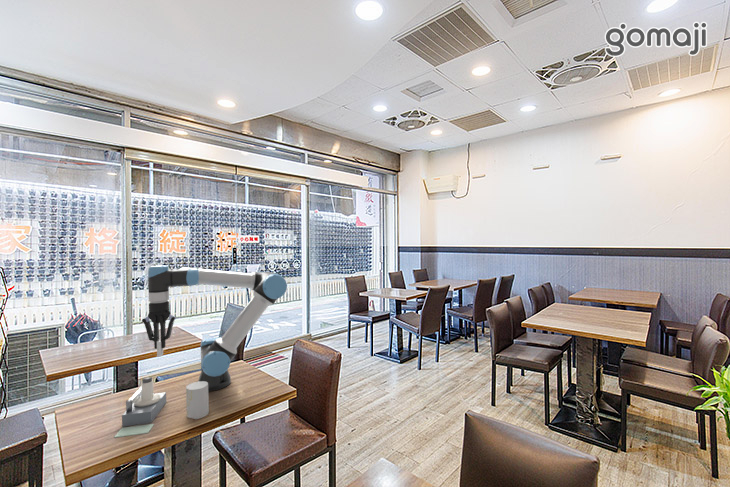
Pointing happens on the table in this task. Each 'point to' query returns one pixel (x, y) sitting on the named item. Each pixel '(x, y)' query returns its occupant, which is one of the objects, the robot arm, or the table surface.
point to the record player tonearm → (132, 400)
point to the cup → (197, 399)
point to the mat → (134, 430)
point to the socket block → (143, 413)
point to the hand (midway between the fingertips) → (160, 355)
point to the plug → (147, 394)
